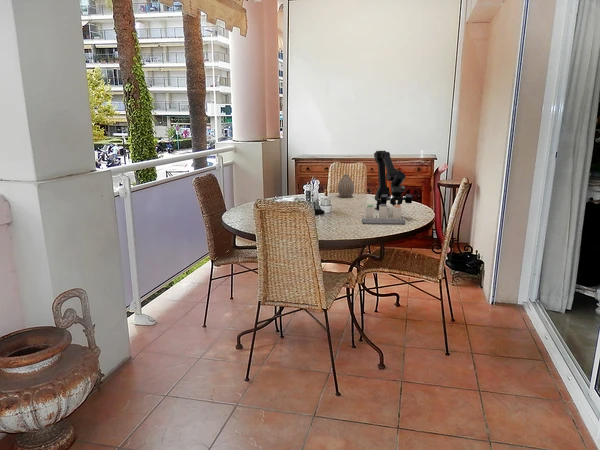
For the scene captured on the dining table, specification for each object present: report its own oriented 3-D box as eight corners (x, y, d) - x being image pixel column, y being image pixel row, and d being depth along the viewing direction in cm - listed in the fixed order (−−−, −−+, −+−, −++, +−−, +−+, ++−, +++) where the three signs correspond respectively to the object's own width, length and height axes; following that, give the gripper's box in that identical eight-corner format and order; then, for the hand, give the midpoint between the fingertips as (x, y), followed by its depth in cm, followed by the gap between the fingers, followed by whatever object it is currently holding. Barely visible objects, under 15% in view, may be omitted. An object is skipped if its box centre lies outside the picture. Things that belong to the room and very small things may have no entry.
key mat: (362, 219, 267) (362, 218, 267) (402, 220, 264) (402, 218, 264) (362, 224, 256) (362, 222, 256) (405, 224, 253) (405, 223, 253)
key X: (378, 218, 265) (379, 203, 262) (386, 218, 264) (386, 204, 262) (379, 220, 260) (379, 205, 258) (386, 220, 260) (387, 205, 258)
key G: (365, 219, 263) (366, 204, 261) (373, 219, 263) (373, 204, 261) (365, 220, 259) (366, 205, 257) (373, 220, 259) (373, 206, 257)
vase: (340, 198, 335) (340, 176, 331) (335, 196, 348) (335, 174, 344) (356, 198, 338) (357, 175, 334) (350, 195, 351) (351, 173, 347)
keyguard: (362, 218, 266) (362, 214, 265) (403, 219, 263) (403, 215, 262) (362, 222, 256) (362, 218, 255) (405, 223, 253) (405, 219, 252)
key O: (392, 219, 262) (393, 204, 259) (400, 219, 261) (400, 204, 259) (393, 221, 257) (394, 206, 255) (401, 221, 257) (401, 206, 255)
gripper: (381, 181, 263) (381, 202, 255) (413, 181, 260) (414, 202, 252) (380, 191, 272) (380, 212, 264) (410, 192, 270) (412, 213, 262)
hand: (396, 210), depth 260 cm, fingers closed, pressing on key O
